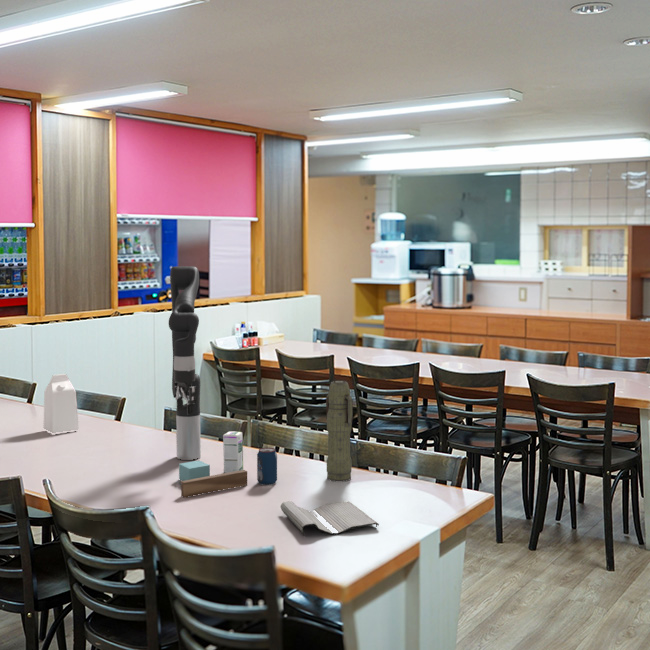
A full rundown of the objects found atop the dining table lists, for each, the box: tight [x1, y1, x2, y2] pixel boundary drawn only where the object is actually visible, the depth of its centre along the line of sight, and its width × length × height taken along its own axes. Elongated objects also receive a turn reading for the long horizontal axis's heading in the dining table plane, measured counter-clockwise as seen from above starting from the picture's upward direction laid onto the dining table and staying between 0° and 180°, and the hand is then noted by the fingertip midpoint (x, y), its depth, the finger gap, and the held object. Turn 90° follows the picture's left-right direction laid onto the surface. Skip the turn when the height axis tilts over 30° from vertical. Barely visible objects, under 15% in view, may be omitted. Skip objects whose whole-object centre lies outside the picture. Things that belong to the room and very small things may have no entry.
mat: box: [280, 500, 380, 535], centre depth 236 cm, size 23×24×5 cm
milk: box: [43, 373, 80, 433], centre depth 356 cm, size 12×12×26 cm
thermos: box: [325, 379, 354, 482], centre depth 281 cm, size 9×12×35 cm
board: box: [180, 469, 248, 498], centre depth 267 cm, size 2×24×5 cm, turn 127°
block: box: [178, 460, 211, 481], centre depth 279 cm, size 8×8×6 cm
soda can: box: [256, 447, 278, 486], centre depth 275 cm, size 7×7×12 cm
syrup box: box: [222, 430, 244, 473], centre depth 290 cm, size 6×6×14 cm
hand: (185, 412), depth 284 cm, fingers open, 8 cm apart
